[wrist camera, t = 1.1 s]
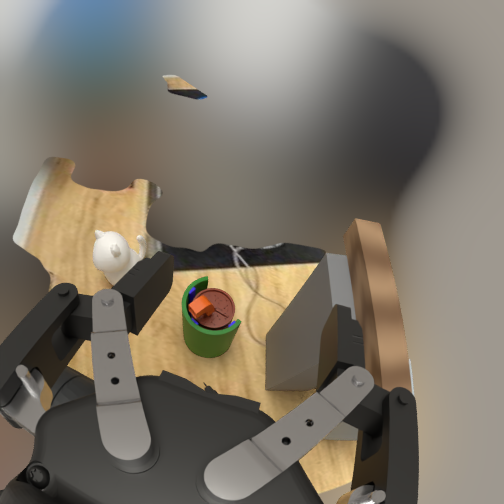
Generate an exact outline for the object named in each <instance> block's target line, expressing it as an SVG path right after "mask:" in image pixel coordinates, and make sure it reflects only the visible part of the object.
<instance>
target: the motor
mask: <svg viewBox="0 0 504 504" xmlns="http://www.w3.org/2000/svg"><path fill="white" fill-rule="evenodd" d="M207 286H208V276H206V277H202V278H199V279H197V280H195V281H194V282H193V283H191V284H190V285H189V286H188V288H187V289H186V290H185V292H184V295H183V298H182V317H183V332H184V340H185V343H186V345H187V346H188V348H189V349H190V350H191V351H192V352H193V353H195V354H196V355H198V356H201V357H205V358H213V357H217V356H220V355H222V354H223V353H225V352H226V351H227V350H228V348H229V347H230V345H231V343H232V341H233V338H234V336H235V334H236V332H237V330H238V328H239V326H240V323H241V321H240V320H239V319H238V320H237V321H236V322H235V321H233V322H232V323H231V321H232V319H233V316H234V313H235V305H234V302H233V300H232V298H231V297H230V296H229V294H227V293H226V292H225V291H223V290H220V289H216V288H209V289H207Z"/></svg>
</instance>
